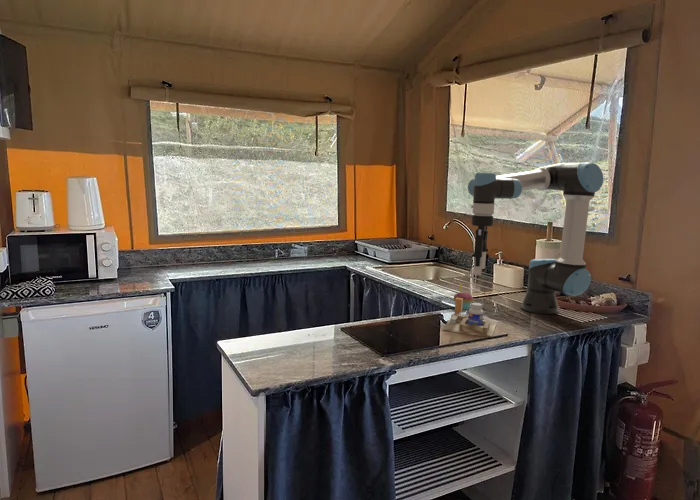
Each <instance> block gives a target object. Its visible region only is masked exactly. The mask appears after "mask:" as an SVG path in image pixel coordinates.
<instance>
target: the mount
mask: <svg viewBox="0 0 700 500" xmlns="http://www.w3.org/2000/svg"><path fill="white" fill-rule="evenodd" d="M453 314H454V313H451V315H450V318H449V320H448V321H447V322H446V323H445V325H444V327H443V328H442V331H443V332H449V333H450V332H451V333H457V334H458V333H459V334H465V335H473V336H479V337H487V338H493V336H494V333H495V329H496V327H497V323H493V322H491V321H490V320H487V319H486V320H485V317H483V323H482V326H477V325H469V324H468V314H467V315H466V314H465V315H464V314H461V315H460V317H459V319H458V320H457V322H456V324H455V323H450V319H451V317H452V316H453Z"/></svg>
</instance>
